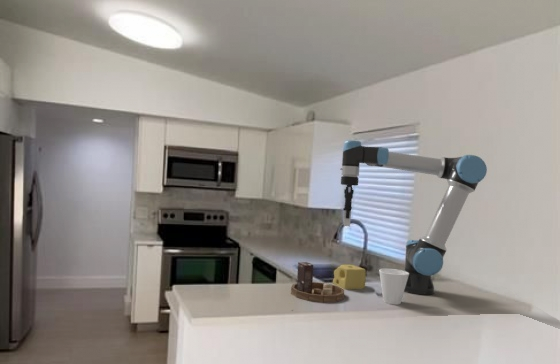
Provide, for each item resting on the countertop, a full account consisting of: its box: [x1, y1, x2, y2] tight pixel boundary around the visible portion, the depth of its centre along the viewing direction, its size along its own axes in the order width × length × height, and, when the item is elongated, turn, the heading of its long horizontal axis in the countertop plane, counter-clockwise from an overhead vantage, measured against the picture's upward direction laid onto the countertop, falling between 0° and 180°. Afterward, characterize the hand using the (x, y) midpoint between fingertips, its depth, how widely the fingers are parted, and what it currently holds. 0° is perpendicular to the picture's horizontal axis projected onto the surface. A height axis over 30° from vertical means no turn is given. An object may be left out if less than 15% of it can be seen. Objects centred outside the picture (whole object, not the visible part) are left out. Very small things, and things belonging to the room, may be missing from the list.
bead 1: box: [323, 282, 333, 289], centre depth 176 cm, size 4×4×4 cm
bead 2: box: [322, 288, 332, 295], centre depth 168 cm, size 4×4×4 cm
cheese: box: [332, 264, 367, 290], centre depth 191 cm, size 10×11×10 cm
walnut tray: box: [290, 281, 345, 303], centre depth 173 cm, size 21×21×4 cm
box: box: [296, 261, 314, 294], centre depth 173 cm, size 6×4×12 cm
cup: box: [378, 268, 409, 306], centre depth 174 cm, size 12×12×12 cm
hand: (346, 224), depth 187 cm, fingers open, 13 cm apart
